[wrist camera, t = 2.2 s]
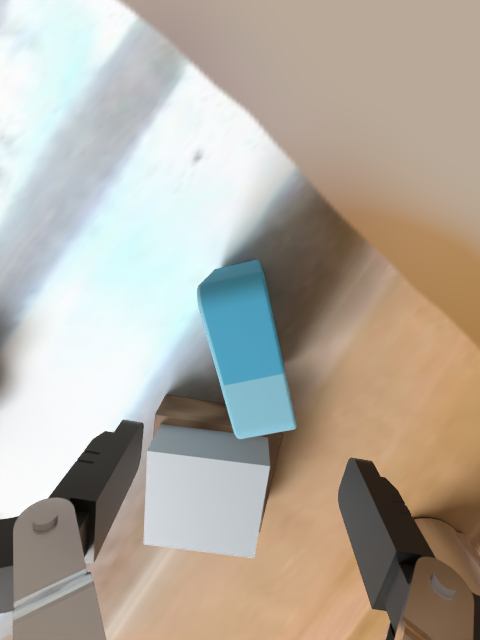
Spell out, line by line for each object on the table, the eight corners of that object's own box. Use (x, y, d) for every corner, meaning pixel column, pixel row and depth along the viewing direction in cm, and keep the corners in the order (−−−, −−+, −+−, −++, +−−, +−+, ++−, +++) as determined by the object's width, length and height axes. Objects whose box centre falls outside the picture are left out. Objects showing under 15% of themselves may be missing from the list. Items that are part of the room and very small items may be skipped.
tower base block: (278, 410, 35) (282, 435, 31) (258, 498, 39) (259, 532, 34) (167, 392, 35) (155, 414, 31) (157, 482, 39) (145, 514, 34)
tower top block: (267, 437, 31) (270, 466, 27) (253, 521, 34) (254, 558, 30) (160, 423, 31) (147, 450, 27) (155, 509, 34) (143, 544, 30)
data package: (283, 367, 33) (299, 438, 21) (242, 375, 33) (237, 449, 22) (259, 257, 30) (264, 272, 18) (214, 267, 30) (192, 289, 19)
